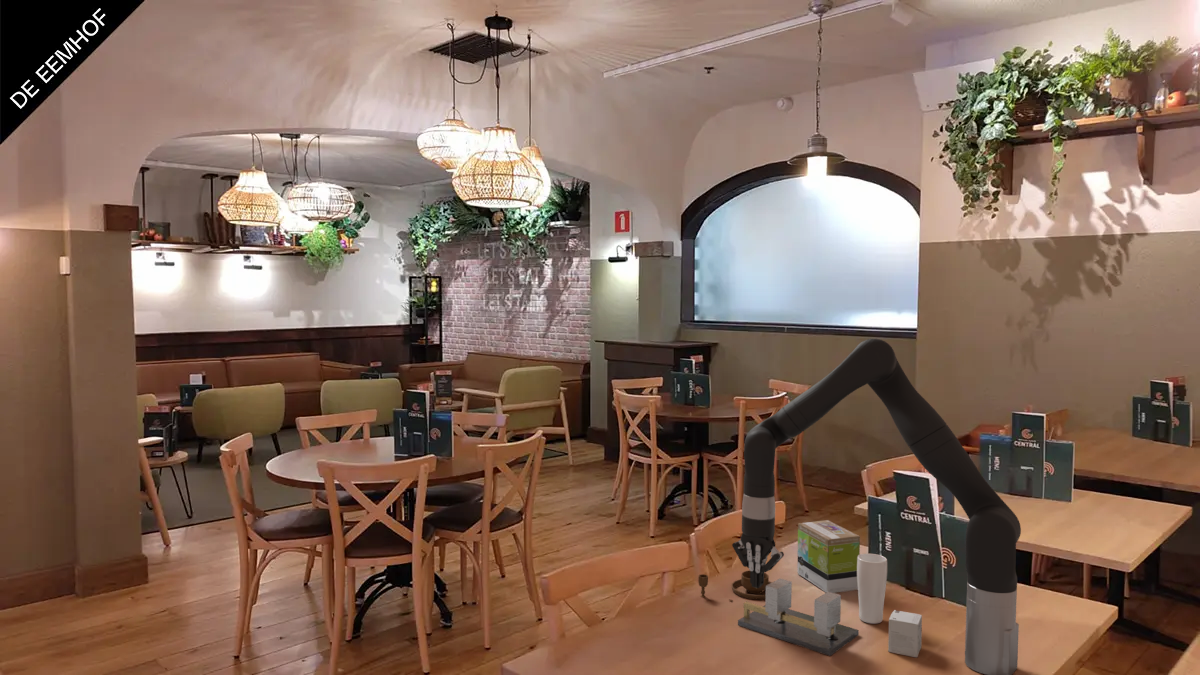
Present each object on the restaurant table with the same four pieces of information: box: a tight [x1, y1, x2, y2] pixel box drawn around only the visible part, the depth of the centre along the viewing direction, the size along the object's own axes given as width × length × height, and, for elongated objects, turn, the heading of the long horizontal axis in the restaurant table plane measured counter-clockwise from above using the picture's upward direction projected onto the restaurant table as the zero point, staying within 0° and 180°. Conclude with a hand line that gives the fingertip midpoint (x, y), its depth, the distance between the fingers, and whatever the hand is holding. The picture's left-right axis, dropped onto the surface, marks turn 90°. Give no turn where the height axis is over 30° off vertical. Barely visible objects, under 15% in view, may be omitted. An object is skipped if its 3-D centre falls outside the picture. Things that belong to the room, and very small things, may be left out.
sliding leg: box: [764, 578, 793, 622], centre depth 181 cm, size 3×6×10 cm, turn 138°
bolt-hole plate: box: [737, 605, 860, 657], centre depth 182 cm, size 23×14×1 cm, turn 48°
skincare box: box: [887, 609, 923, 658], centre depth 172 cm, size 6×6×7 cm
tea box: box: [797, 519, 861, 594], centre depth 212 cm, size 15×10×15 cm, turn 17°
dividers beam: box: [743, 592, 842, 639], centre depth 179 cm, size 22×6×10 cm, turn 48°
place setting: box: [697, 570, 773, 603], centre depth 206 cm, size 18×20×6 cm
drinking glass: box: [857, 553, 888, 625], centre depth 187 cm, size 7×7×15 cm
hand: (756, 586), depth 185 cm, fingers closed
